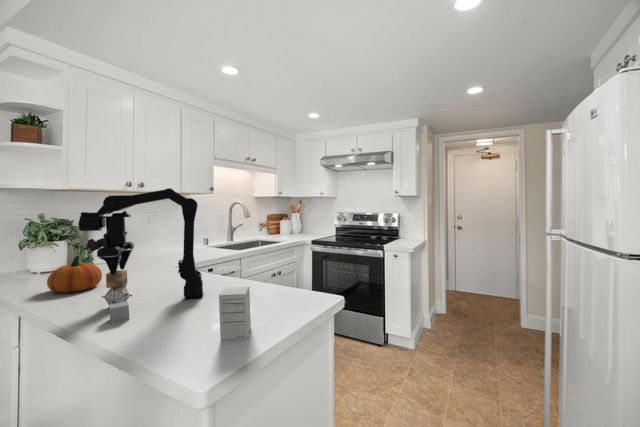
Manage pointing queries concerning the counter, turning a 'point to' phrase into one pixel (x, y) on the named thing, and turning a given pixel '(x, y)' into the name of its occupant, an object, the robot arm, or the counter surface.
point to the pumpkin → (74, 277)
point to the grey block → (119, 312)
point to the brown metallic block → (116, 279)
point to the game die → (117, 295)
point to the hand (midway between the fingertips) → (117, 271)
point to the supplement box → (234, 313)
